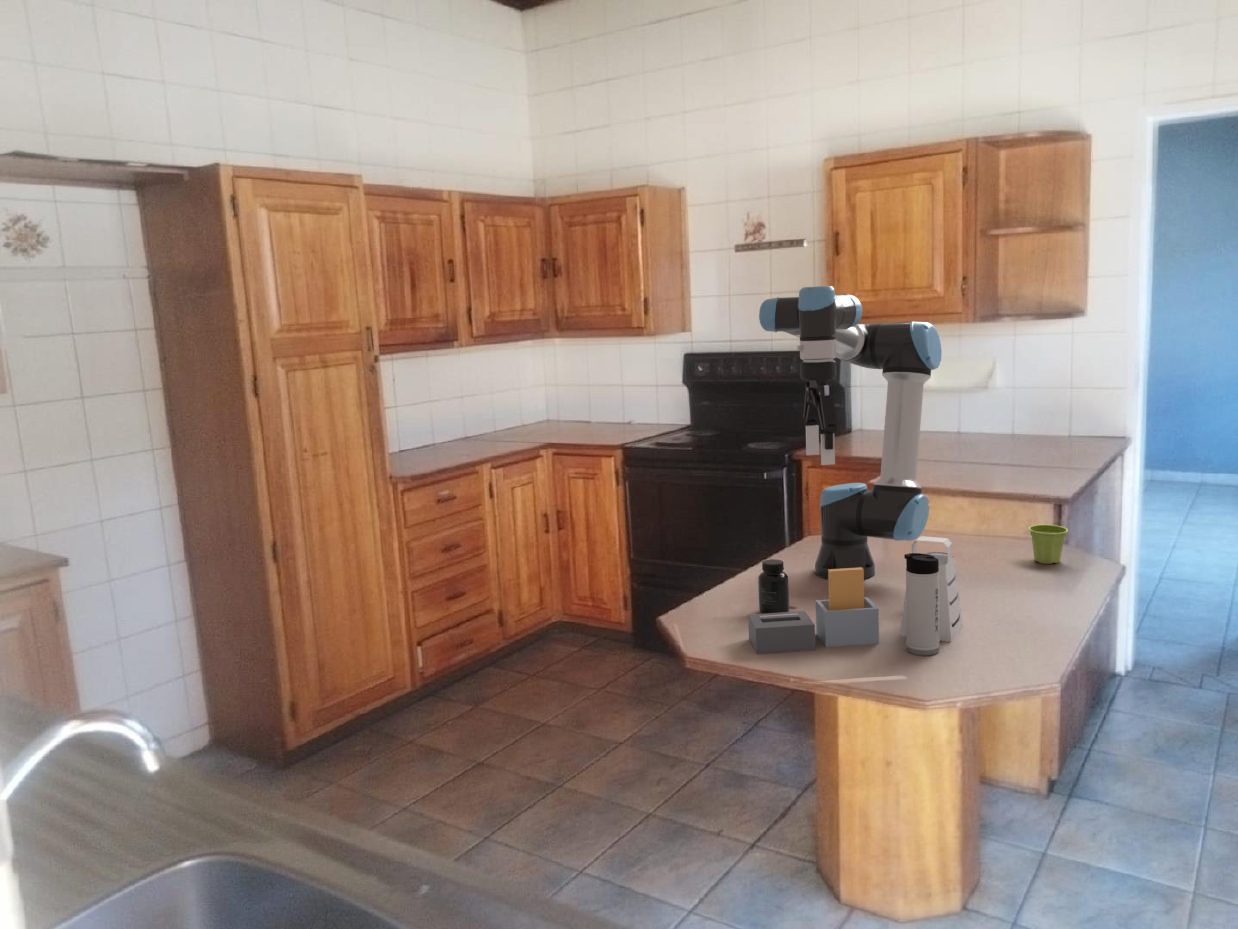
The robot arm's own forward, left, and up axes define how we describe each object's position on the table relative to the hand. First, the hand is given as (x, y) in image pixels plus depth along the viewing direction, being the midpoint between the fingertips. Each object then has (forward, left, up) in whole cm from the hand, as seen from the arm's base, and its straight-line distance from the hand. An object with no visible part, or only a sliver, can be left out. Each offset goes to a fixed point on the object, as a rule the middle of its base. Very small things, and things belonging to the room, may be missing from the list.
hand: (820, 459), depth 209 cm
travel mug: (+20, +15, -37) cm, 45 cm away
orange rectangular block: (+12, +2, -36) cm, 38 cm away
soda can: (-7, +28, -37) cm, 47 cm away
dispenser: (+13, -12, -37) cm, 41 cm away
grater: (+9, +21, -37) cm, 43 cm away
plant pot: (-37, +68, -37) cm, 86 cm away
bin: (+12, +2, -37) cm, 39 cm away
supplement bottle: (-10, -9, -37) cm, 39 cm away
